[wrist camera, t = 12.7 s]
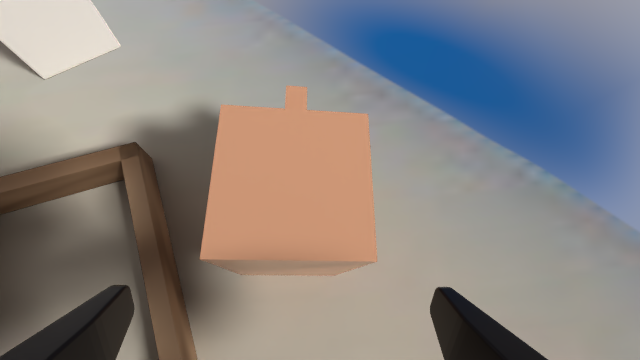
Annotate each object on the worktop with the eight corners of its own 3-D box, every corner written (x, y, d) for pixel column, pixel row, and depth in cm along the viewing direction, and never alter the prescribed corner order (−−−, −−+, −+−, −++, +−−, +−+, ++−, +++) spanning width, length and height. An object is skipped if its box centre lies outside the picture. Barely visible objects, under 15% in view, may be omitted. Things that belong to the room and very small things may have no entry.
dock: (205, 393, 17) (192, 409, 14) (-28, 499, 14) (-89, 539, 12) (151, 158, 21) (135, 141, 19) (-33, 208, 19) (-78, 197, 16)
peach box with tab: (333, 275, 20) (377, 261, 10) (241, 275, 19) (199, 259, 10) (332, 161, 23) (365, 69, 13) (251, 157, 22) (227, 59, 13)
